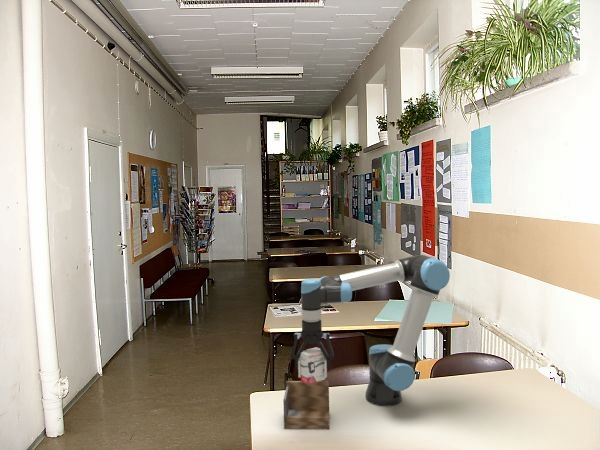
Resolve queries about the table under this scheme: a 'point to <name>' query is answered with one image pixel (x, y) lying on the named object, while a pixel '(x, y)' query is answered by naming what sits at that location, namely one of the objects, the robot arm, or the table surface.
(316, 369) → the ink box
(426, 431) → the table surface
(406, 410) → the table surface
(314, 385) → the open wooden box
